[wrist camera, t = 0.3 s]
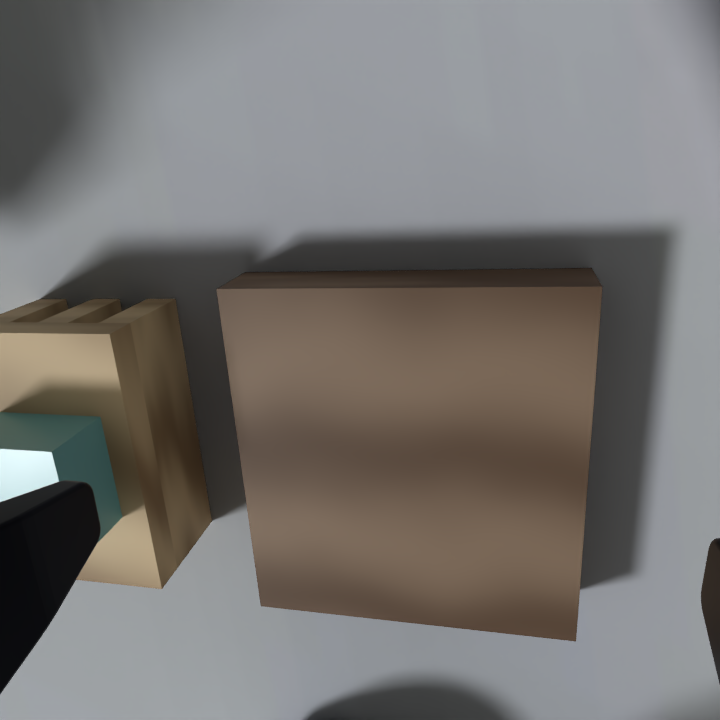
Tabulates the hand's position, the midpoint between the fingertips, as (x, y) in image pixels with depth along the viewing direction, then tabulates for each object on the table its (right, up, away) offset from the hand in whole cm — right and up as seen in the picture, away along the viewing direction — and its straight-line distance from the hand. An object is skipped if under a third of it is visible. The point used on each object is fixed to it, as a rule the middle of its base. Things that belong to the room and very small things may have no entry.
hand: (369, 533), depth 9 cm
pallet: (-10, 0, +17) cm, 20 cm away
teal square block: (-11, -1, +13) cm, 17 cm away
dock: (+2, 0, +15) cm, 15 cm away
